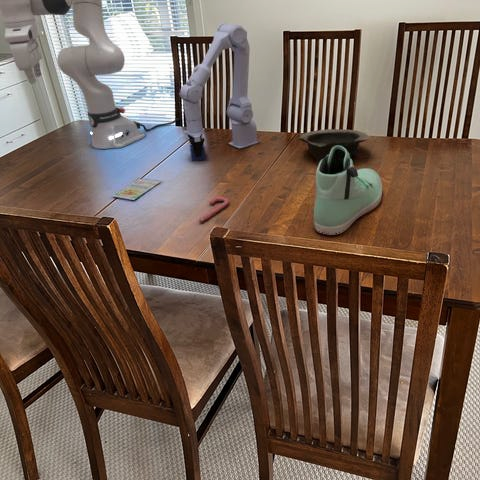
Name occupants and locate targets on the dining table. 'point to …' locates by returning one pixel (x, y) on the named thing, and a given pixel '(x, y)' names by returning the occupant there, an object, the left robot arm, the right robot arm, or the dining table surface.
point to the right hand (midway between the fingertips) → (198, 154)
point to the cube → (195, 156)
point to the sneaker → (343, 192)
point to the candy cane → (215, 208)
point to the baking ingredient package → (136, 189)
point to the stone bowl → (333, 141)
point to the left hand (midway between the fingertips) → (35, 79)
